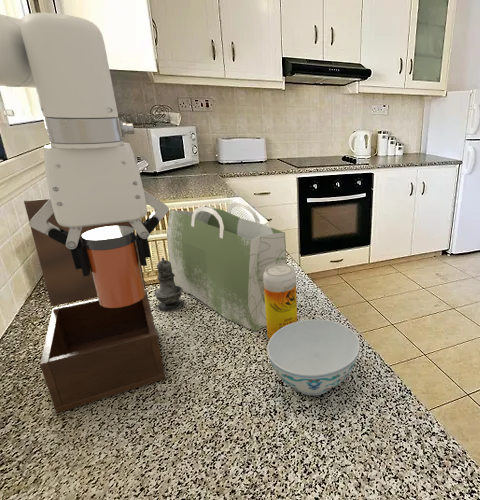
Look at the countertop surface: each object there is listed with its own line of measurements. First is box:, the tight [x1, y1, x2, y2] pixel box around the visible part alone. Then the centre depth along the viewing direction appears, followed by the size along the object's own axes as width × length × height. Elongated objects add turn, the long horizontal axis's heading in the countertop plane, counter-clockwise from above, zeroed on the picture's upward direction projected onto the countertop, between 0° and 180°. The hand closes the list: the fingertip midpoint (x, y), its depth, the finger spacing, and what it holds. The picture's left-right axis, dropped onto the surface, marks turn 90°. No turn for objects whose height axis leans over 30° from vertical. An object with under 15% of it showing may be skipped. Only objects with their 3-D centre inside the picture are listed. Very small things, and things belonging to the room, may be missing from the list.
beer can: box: [263, 263, 298, 340], centre depth 73 cm, size 6×6×15 cm
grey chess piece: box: [153, 257, 184, 312], centre depth 84 cm, size 6×6×12 cm
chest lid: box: [23, 198, 146, 307], centre depth 68 cm, size 19×15×1 cm
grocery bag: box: [166, 201, 287, 332], centre depth 86 cm, size 32×14×23 cm, turn 53°
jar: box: [81, 226, 146, 308], centre depth 52 cm, size 6×6×10 cm
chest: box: [39, 288, 166, 414], centre depth 65 cm, size 18×15×9 cm
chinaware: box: [266, 318, 361, 396], centre depth 62 cm, size 15×15×8 cm
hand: (115, 266), depth 52 cm, fingers closed on jar, 6 cm apart
